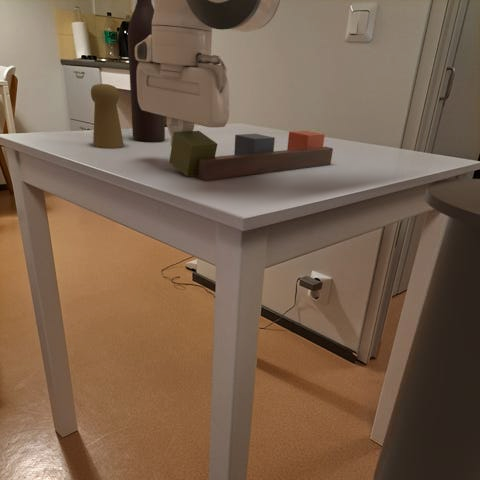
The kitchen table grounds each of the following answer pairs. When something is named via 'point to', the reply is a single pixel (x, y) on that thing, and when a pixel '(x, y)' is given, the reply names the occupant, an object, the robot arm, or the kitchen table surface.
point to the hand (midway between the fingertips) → (179, 148)
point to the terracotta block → (304, 140)
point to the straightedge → (262, 162)
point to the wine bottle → (143, 122)
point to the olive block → (190, 151)
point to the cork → (106, 117)
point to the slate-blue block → (253, 144)
